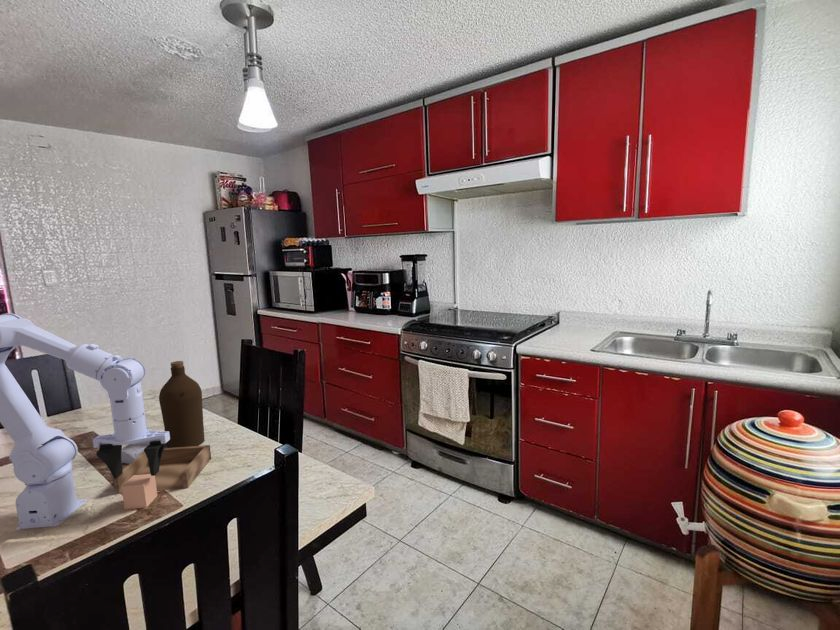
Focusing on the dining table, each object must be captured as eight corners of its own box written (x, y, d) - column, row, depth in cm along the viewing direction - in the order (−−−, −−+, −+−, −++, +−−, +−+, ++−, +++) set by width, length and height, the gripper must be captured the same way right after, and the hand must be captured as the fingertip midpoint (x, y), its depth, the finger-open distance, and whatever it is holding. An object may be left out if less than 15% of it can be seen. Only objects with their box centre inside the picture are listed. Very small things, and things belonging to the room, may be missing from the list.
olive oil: (215, 440, 122) (206, 359, 119) (182, 456, 113) (171, 369, 109) (190, 434, 127) (181, 356, 123) (157, 450, 117) (146, 365, 113)
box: (188, 490, 96) (186, 472, 96) (115, 496, 95) (112, 478, 94) (211, 460, 110) (209, 445, 110) (148, 465, 109) (146, 449, 108)
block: (147, 510, 89) (143, 484, 88) (125, 512, 89) (121, 486, 88) (157, 498, 94) (154, 473, 93) (136, 499, 93) (133, 475, 92)
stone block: (108, 471, 110) (138, 466, 108) (103, 454, 110) (133, 449, 108) (145, 452, 122) (173, 447, 119) (140, 436, 121) (168, 431, 119)
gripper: (173, 407, 93) (180, 463, 95) (104, 410, 91) (112, 467, 93) (157, 419, 86) (164, 479, 88) (82, 423, 84) (91, 485, 86)
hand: (136, 474), depth 90 cm, fingers open, 7 cm apart
